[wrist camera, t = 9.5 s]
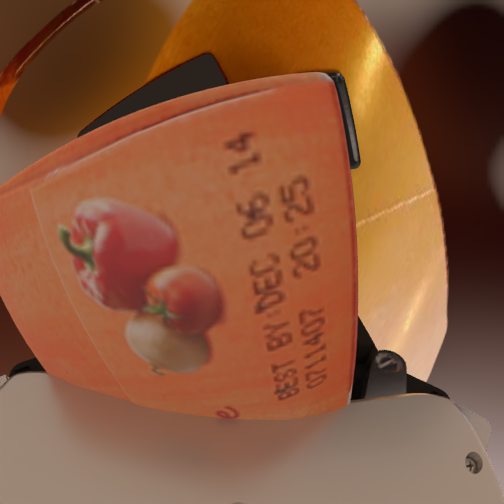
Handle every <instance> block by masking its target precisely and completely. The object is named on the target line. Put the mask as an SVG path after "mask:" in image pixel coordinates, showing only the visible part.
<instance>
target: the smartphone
mask: <svg viewBox="0 0 504 504" xmlns="http://www.w3.org/2000/svg"><path fill="white" fill-rule="evenodd" d="M228 84H229V83H228V81H227V78H226V76H225V75H224V73H223V71H222V69H221V67H220V65H219V63H218V62H217V61H216V59H215V57H214V56H213V55H212V54H211V53H204V54H201V55H199V56H197V57H195V58H193V59H191V60H189V61H187V62H185V63H183V64H180V65H178V66H176V67H174V68H173V69H171V70H169V71H167V72H165V73H164V74H162V75H160V76H158V77H157V78H155V79H153V80H152V81H151V82H149V83H147V84H146V85H144V86H143V87H141V88H139V89H138V90H136V91H135V92H133V93H132V94H130V95H129V96H127V97H126V98H124V99H123V100H121V101H120V102H118V103H117V104H115V105H114V106H113V107H111V108H110V109H108V110H107V111H106V112H104V113H103V114H102V115H100V116H99V117H98V118H97V119H95V120H94V121H93V122H91V123H90V124H89V125H88V126H86V127H85V128H84V129H83V130H82V131H81V132H80V133H79V134H78V137H77V138H79V137H81V136H83V135H85V134H87V133H89V132H91V131H93V130H95V129H97V128H99V127H101V126H103V125H105V124H108V123H110V122H112V121H114V120H117V119H119V118H122V117H124V116H127V115H129V114H132V113H134V112H137V111H139V110H142V109H145V108H148V107H150V106H153V105H156V104H159V103H162V102H165V101H168V100H171V99H175V98H178V97H181V96H185V95H188V94H192V93H195V92H199V91H203V90H207V89H211V88H215V87H219V86H224V85H228Z"/></svg>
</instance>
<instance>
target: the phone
mask: <svg viewBox="0 0 504 504" xmlns="http://www.w3.org/2000/svg"><path fill="white" fill-rule="evenodd" d="M326 74H327V75H328V76H329V77H330V78H331V79H332V80H333V81H334V84H335V87H336V91H337V95H338V99H339V104H340V109H341V114H342V119H343V125H344V130H345V136H346V142H347V149H348V155H349V162H350V169H356V168H358V167H359V165H360V154H359V147H358V141H357V135H356V130H355V124H354V119H353V114H352V109H351V104H350V100H349V95H348V91H347V87H346V83H345V79H344V77H343V76H342V75H341V74H340V73H326Z"/></svg>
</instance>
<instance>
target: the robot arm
mask: <svg viewBox="0 0 504 504" xmlns="http://www.w3.org/2000/svg"><path fill="white" fill-rule="evenodd" d="M490 435H491V427H490V424H489V423H488V421H487V420H486V419H484V418H483V417H481V416H479V415H477V414H475V413H473V412H471V411H469V410H467V409H466V408H464V407H462V406H460V405H458V404H456V403H454V402H453V401H452V400H450V398H449V397H448V395H447V394H446V393H445V392H444V391H442V390H441V389H439V388H436V387H434V386H432V385H430V384H428V383H426V382H424V381H422V380H419V379H417V378H415V377H413V376H411V375H409V374H407V367H406V362H405V361H404V359H403V358H402V357H401V356H400V355H398V354H397V353H395V352H392V351H389V350H379V351H378V350H377V348H376V347H375V344H374V342H373V341H372V339H371V337H370V335H369V334H368V332H367V330H366V328H365V327H364V325H363V323H362V322H361V320H360V318H359V316H358V329H357V347H356V359H355V369H354V377H353V384H352V392H351V399H350V403H349V404H348V405H347V406H345V407H342V408H339V409H336V410H332V411H329V412H325V413H321V414H318V415H314V416H310V417H306V418H298V419H289V420H247V419H229V418H216V417H206V416H197V415H189V414H182V413H175V412H169V411H163V410H157V409H152V408H147V407H143V406H138V405H136V404H134V403H133V402H131V401H128V400H124V399H120V398H116V397H112V396H109V395H105V394H101V393H98V392H95V391H91V390H88V389H85V388H82V387H79V386H76V385H74V384H71V383H69V382H66V381H64V380H62V379H59V378H57V377H55V376H53V375H51V374H48V373H47V372H46V370H45V369H44V368H43V366H42V365H41V363H40V362H39V361H38V359H37V358H33V359H30V360H27V361H24V362H21V363H19V364H17V365H16V366H15V367H14V368H13V369H12V370H11V372H10V376H9V377H8V378H7V376H6V375H4V376H1V377H0V504H504V496H503V493H502V490H501V487H500V484H499V481H498V479H497V476H496V474H495V471H494V469H493V466H492V464H491V462H490V460H489V457H488V455H487V453H486V451H487V447H488V443H489V439H490Z"/></svg>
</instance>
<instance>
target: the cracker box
mask: <svg viewBox="0 0 504 504" xmlns="http://www.w3.org/2000/svg"><path fill="white" fill-rule="evenodd" d="M0 295H1V297H2V300H3V301H4V304H5V305H6V308H7V309H8V311H9V313H10V315H11V317H12V319H13V321H14V323H15V324H16V326H17V328H18V329H19V331H20V333H21V334H22V336H23V338H24V339H25V341H26V343H27V344H28V346H29V347H30V349H31V350H32V352H33V353H34V355H35V356H36V358H37V359H38V361H39V362H40V363H41V365H42V366H43V368H44V369H45V370H46V372H47V373H48V374H51V375H53V376H55V377H57V378H59V379H62V380H64V381H66V382H69V383H71V384H74V385H76V386H79V387H82V388H85V389H88V390H91V391H95V392H98V393H101V394H105V395H109V396H112V397H116V398H120V399H124V400H128V401H131V402H133V403H134V404H136V405H138V406H143V407H147V408H152V409H157V410H163V411H169V412H175V413H182V414H189V415H197V416H206V417H216V418H229V419H247V420H289V419H298V418H306V417H310V416H314V415H318V414H321V413H325V412H329V411H332V410H336V409H339V408H342V407H345V406H347V405H348V404H349V403H350V399H351V392H352V384H353V377H354V369H355V359H356V347H357V329H358V256H357V235H356V220H355V207H354V197H353V187H352V178H351V170H350V162H349V155H348V149H347V142H346V136H345V130H344V125H343V119H342V114H341V109H340V104H339V99H338V95H337V91H336V87H335V84H334V81H333V80H332V79H331V78H330V77H329V76H328V75H327V74H326V73H321V72H308V73H296V74H287V75H279V76H272V77H265V78H259V79H253V80H248V81H243V82H238V83H233V84H228V85H224V86H219V87H215V88H211V89H207V90H203V91H199V92H195V93H192V94H188V95H185V96H181V97H178V98H175V99H171V100H168V101H165V102H162V103H159V104H156V105H153V106H150V107H148V108H145V109H142V110H139V111H137V112H134V113H132V114H129V115H127V116H124V117H122V118H119V119H117V120H114V121H112V122H110V123H108V124H105V125H103V126H101V127H99V128H97V129H95V130H93V131H91V132H89V133H87V134H85V135H83V136H81V137H79V138H77V139H75V140H73V141H71V142H69V143H67V144H66V145H64V146H62V147H60V148H59V149H57V150H55V151H53V152H52V153H50V154H48V155H47V156H45V157H43V158H42V159H40V160H38V161H37V162H35V163H34V164H32V165H30V166H29V167H27V168H26V169H24V170H23V171H21V172H20V173H18V174H17V175H15V176H14V177H12V178H11V179H9V180H8V181H7V182H5V183H4V184H2V185H1V186H0Z"/></svg>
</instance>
